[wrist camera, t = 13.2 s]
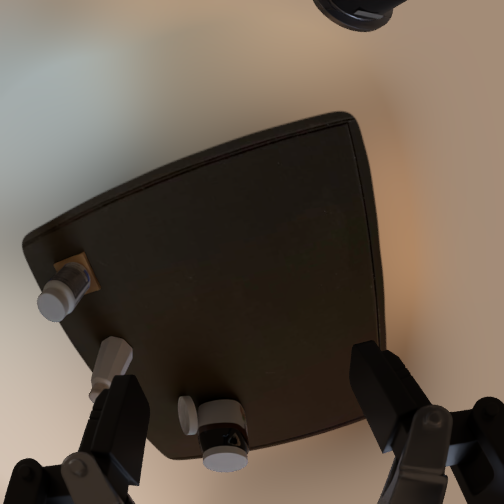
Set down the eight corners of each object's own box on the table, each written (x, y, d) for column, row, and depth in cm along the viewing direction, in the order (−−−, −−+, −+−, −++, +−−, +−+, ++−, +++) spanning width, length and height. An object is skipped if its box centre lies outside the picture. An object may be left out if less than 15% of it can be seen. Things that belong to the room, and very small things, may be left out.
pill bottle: (61, 258, 36) (31, 286, 28) (91, 264, 37) (65, 294, 29) (63, 289, 37) (37, 320, 30) (91, 295, 38) (69, 329, 30)
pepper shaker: (108, 329, 41) (84, 379, 31) (139, 347, 42) (123, 399, 32) (96, 351, 42) (75, 399, 32) (126, 367, 44) (110, 418, 34)
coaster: (54, 263, 36) (53, 264, 36) (84, 251, 36) (82, 253, 36) (71, 297, 39) (70, 299, 38) (101, 287, 39) (100, 289, 38)
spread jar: (249, 421, 51) (256, 472, 40) (191, 429, 51) (189, 479, 40) (235, 380, 46) (240, 437, 36) (169, 389, 46) (162, 445, 35)
